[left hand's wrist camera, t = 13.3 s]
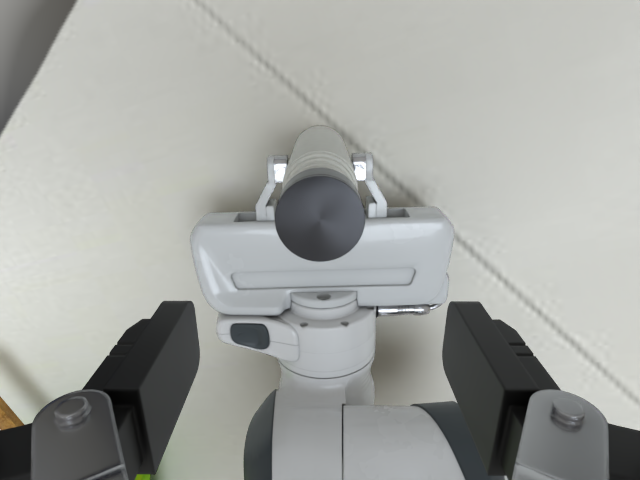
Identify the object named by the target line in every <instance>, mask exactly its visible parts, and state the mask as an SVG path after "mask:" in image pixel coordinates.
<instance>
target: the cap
mask: <svg viewBox="0 0 640 480" xmlns="http://www.w3.org/2000/svg"><path fill="white" fill-rule="evenodd" d="M275 227H276V231H277V234H278V236H279V238H280V240H281V241H282V243H283V244H284V245H285V247H286V248H287V249H288V250H289V251H291V252H292V253H293V254H295V255H296V256H298V257H300V258H303V259H306V260H309V261H315V262H325V261H331V260H335V259H337V258H340V257H342V256H343V255H345V254H347V253H348V252H349V251H351V250H352V249H353V248H354V247H355V245H356V244H357V243H358V241H359V240H360V238H361V236H362V234H363V231H364V227H365V211H364V207H363V204H362V200H361V197H360V194H359V192H358V190H357V188H356V186H355V185H354V184H353V182H352V181H351V180H350V179H349V178H348V177H346V176H345V175H344V174H342V173H340V172H338V171H336V170H333V169H329V168H311V169H307V170H304V171H302V172H300V173H298V174H297V175H295V176H294V177H292V178H291V179H290V180H289V181H288V182H287V184H286V185H285V186H284V188H283V190H282V192H281V195H280V197H279V200H278V204H277V207H276V211H275Z"/></svg>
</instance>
